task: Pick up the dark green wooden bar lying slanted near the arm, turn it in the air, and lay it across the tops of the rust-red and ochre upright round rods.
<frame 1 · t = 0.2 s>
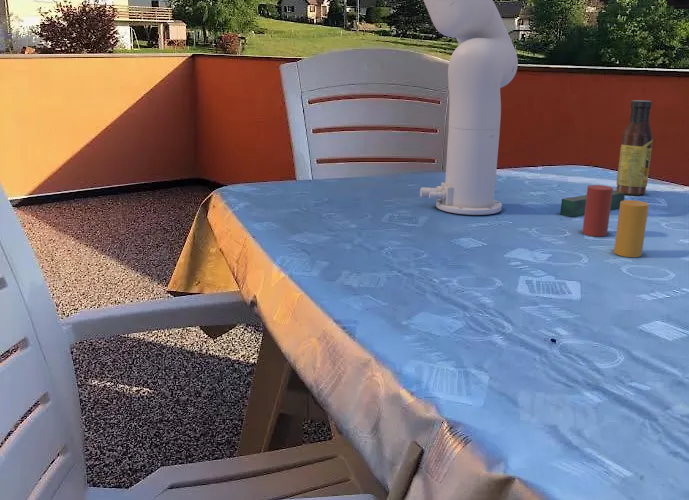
hand: (680, 7, 112), 37 cm above the table, tool pointing down, fingers open, 9 cm apart
sauce bottle: (630, 193, 155), on the table
yellow rod: (627, 253, 109), on the table
green bar: (592, 210, 137), on the table
red rod: (594, 233, 121), on the table
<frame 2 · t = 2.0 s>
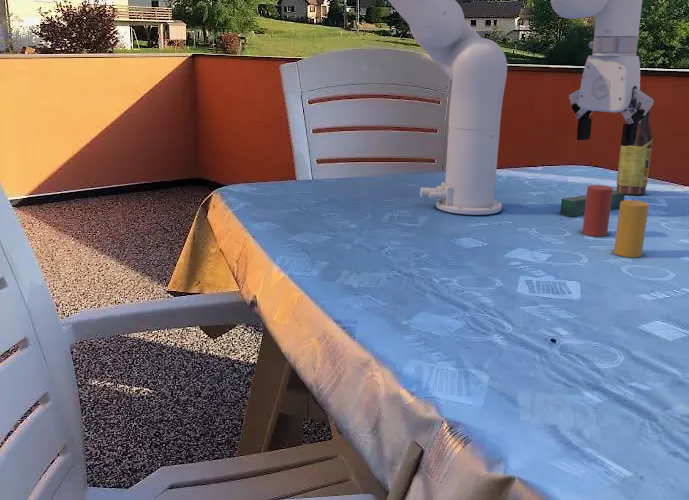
hand: (604, 142, 133), 13 cm above the table, tool pointing down, fingers open, 9 cm apart
nothing on the table moved.
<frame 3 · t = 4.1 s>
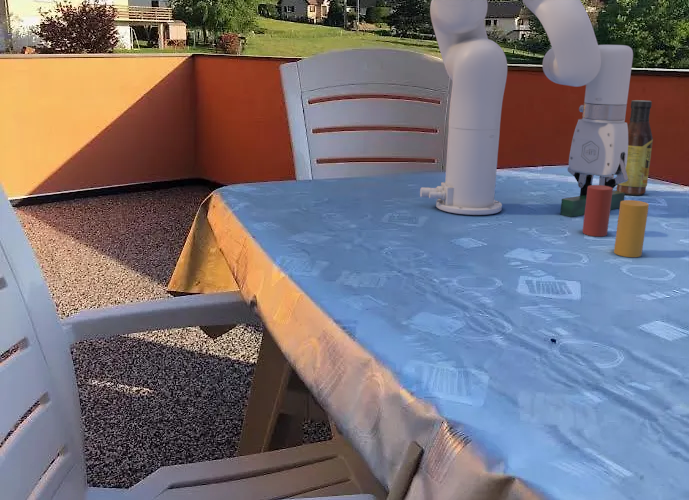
hand: (592, 208, 137), 0 cm above the table, tool pointing down, fingers closed on green bar, 2 cm apart
green bar: (592, 210, 137), on the table, touching gripper
everything else where it was.
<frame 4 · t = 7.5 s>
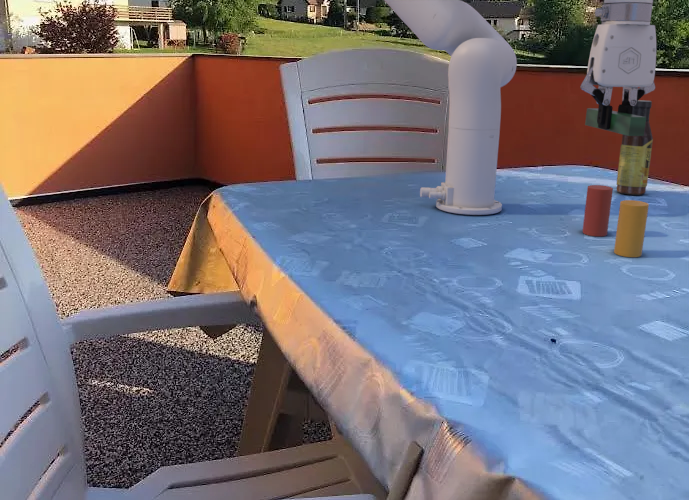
hand: (613, 127, 122), 17 cm above the table, tool pointing down, fingers closed on green bar, 2 cm apart
green bar: (612, 130, 122), point 17 cm above the table, touching gripper
everything else where it was.
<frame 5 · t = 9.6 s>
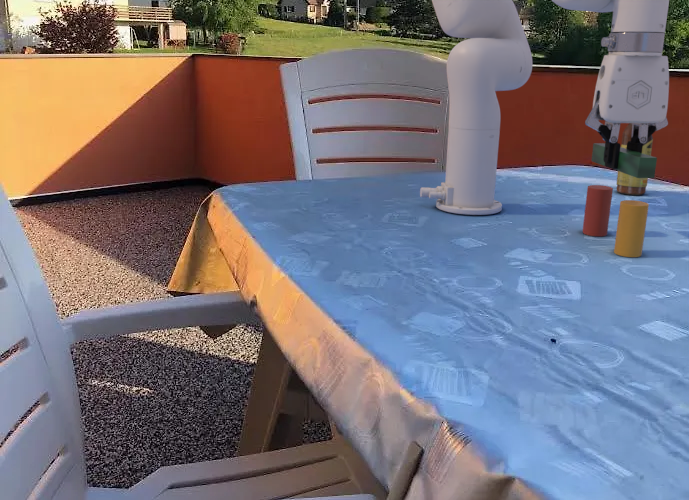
hand: (621, 166, 111), 13 cm above the table, tool pointing down, fingers closed on green bar, 2 cm apart
green bar: (620, 169, 111), point 12 cm above the table, touching gripper
everything else where it was.
when the fingers open (8 cm above the table, at t = 10.8 s): green bar stays where it is, resting on red rod, yellow rod.
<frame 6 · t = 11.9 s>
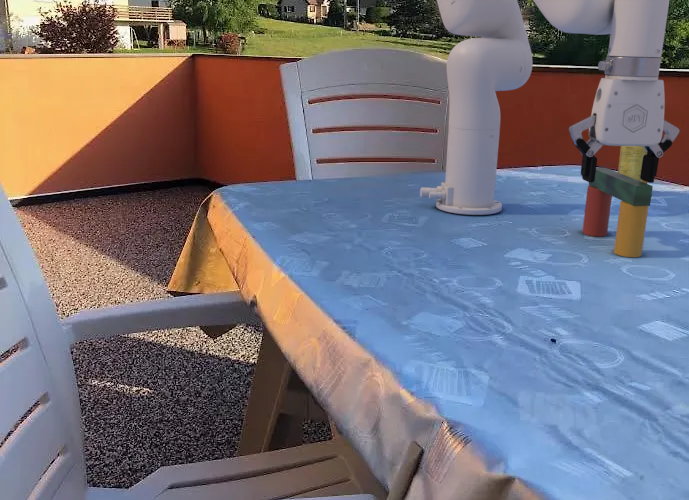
hand: (617, 181, 112), 10 cm above the table, tool pointing down, fingers open, 9 cm apart
green bar: (617, 194, 112), point 8 cm above the table, touching red rod, yellow rod
everything else where it was.
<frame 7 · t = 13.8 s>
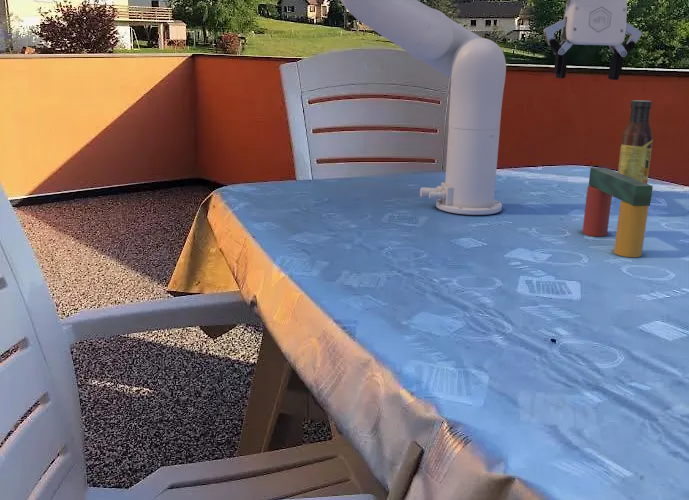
hand: (586, 78, 128), 25 cm above the table, tool pointing down, fingers open, 9 cm apart
nothing on the table moved.
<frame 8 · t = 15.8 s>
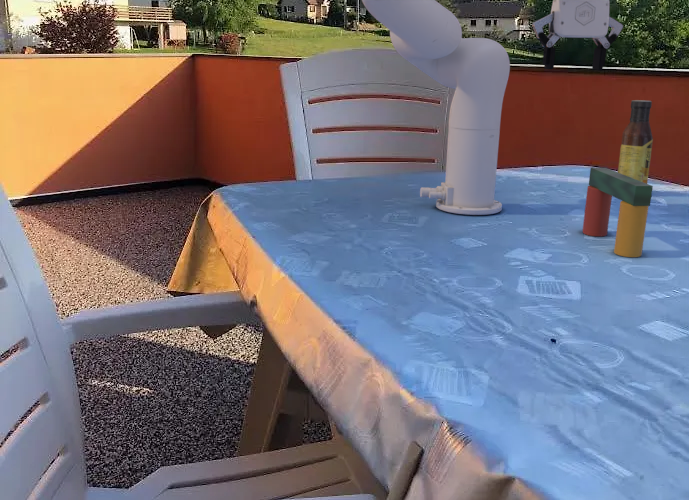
hand: (573, 69, 136), 26 cm above the table, tool pointing down, fingers open, 9 cm apart
nothing on the table moved.
at the end: green bar 0.1 cm from the target spot, point 8.0 cm above the table; green bar touching red rod, yellow rod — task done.
